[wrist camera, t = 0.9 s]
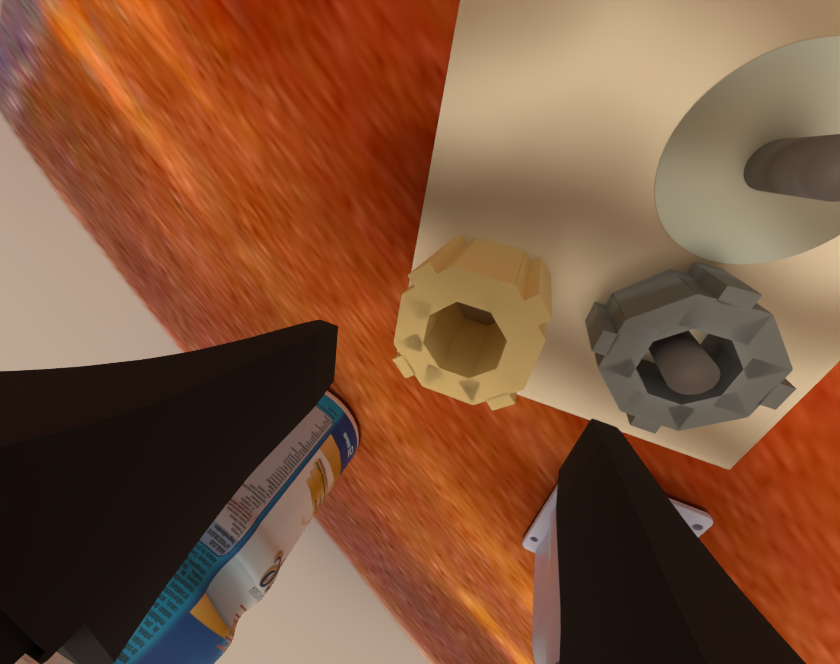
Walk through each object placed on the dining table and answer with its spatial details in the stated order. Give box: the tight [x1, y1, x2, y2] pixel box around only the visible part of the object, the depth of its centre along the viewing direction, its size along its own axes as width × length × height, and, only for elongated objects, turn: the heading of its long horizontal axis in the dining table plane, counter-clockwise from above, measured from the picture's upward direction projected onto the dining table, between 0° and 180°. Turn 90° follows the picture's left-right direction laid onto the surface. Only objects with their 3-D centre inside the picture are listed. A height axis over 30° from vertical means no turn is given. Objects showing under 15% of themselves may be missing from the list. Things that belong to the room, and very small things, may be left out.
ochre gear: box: [393, 235, 552, 411], centre depth 15 cm, size 5×5×5 cm
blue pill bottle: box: [15, 391, 359, 664], centre depth 19 cm, size 8×8×20 cm
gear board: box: [397, 0, 840, 470], centre depth 13 cm, size 18×18×5 cm
